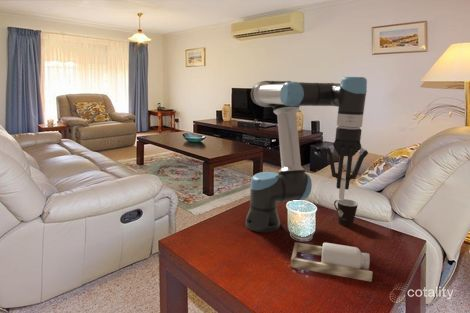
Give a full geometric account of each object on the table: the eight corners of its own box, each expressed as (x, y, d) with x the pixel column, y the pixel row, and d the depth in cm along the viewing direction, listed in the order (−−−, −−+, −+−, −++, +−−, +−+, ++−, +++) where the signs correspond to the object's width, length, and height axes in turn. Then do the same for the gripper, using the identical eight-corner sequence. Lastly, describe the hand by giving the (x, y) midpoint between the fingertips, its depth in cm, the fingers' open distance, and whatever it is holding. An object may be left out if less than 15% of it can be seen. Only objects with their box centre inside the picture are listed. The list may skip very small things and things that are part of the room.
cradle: (290, 267, 106) (291, 259, 105) (294, 249, 118) (295, 242, 117) (371, 281, 99) (372, 273, 98) (367, 261, 111) (368, 253, 110)
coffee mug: (358, 227, 137) (360, 206, 135) (338, 227, 137) (341, 205, 135) (349, 216, 149) (351, 197, 147) (331, 216, 149) (333, 196, 147)
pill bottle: (321, 265, 103) (370, 273, 98) (322, 240, 105) (370, 247, 101) (320, 266, 110) (366, 274, 105) (322, 243, 112) (367, 250, 108)
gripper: (327, 127, 96) (320, 199, 102) (372, 130, 93) (363, 204, 98) (327, 124, 103) (321, 191, 109) (369, 127, 100) (361, 196, 105)
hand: (341, 197), depth 103 cm, fingers closed
